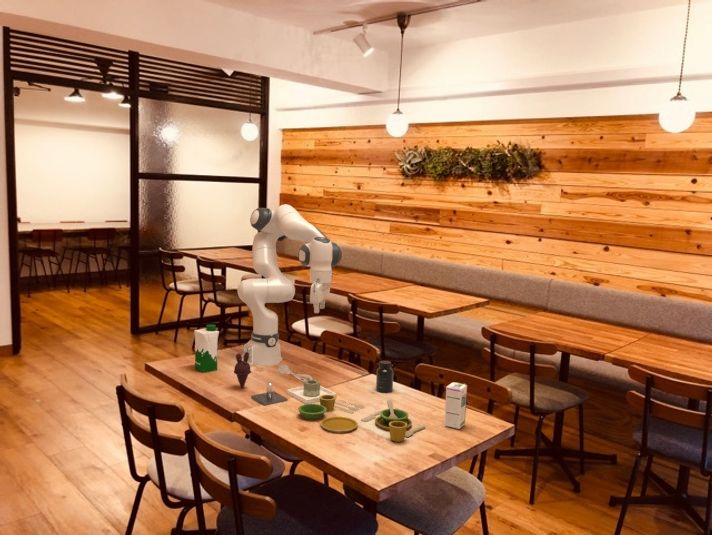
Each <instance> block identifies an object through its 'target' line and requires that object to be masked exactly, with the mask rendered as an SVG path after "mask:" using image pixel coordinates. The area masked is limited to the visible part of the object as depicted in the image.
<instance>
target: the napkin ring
mask: <svg viewBox="0 0 712 535" xmlns="http://www.w3.org/2000/svg"><path fill="white" fill-rule="evenodd" d="M303 386H304V389H303V394H304V396H307V397H317V396H319V395H320V386H321V381H319V380H317V379H312V380H310V379H307V380H306V381H304V382H303Z"/></svg>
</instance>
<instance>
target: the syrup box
mask: <svg viewBox="0 0 712 535" xmlns="http://www.w3.org/2000/svg"><path fill="white" fill-rule="evenodd" d="M467 390H468V385H467V384H464V383H461V382H451V383H450V384H448V385H447V386H446V389H445V405H444V406H445V410H444V411H445V413H444V426H446V427H449V428H453V429H457V430H460V429H461V428H462V427H463V426H464V425H465V424H466V413H467V412H466V411H467V394H468V392H467Z"/></svg>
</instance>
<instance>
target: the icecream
mask: <svg viewBox="0 0 712 535" xmlns="http://www.w3.org/2000/svg"><path fill="white" fill-rule="evenodd" d="M241 354H242V353H239V352H238V353H237V354H236V355H235V359H236V362H237V363H235V364H234V365H235V366H234V368H233V370H234V371H233V373H234V374H235V375H236V377H237V381H238V383H239V387H240V389H244V387H245V385H246V382H247V379H248V376H249V375H250V374H251V373H252V371H251V365H249V363H248V362H247V361H248V359H249V353H248V352H246V353H245V354H244V361H242V356H241Z"/></svg>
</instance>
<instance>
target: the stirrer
mask: <svg viewBox="0 0 712 535" xmlns="http://www.w3.org/2000/svg"><path fill="white" fill-rule="evenodd" d="M277 372H279V373H280V374H287V375H293V376H294V377H295V378H296V379H297V380H298V381H301V382H303V383H304V381H306V380H308V378H309V380H313V378H312V376H311V375H310V374H306V373H305V374H302V373H294V372H293V371H292V370H291V369H290V366H288V365H287V364H281V365H279V366H278V370H277Z"/></svg>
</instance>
